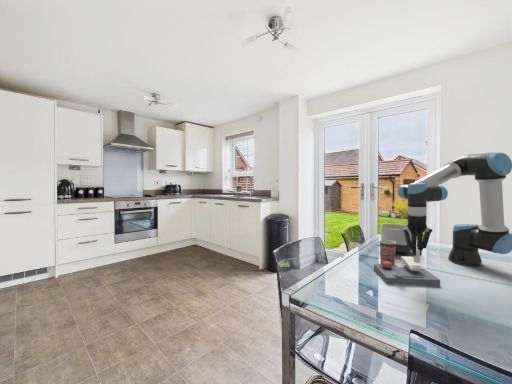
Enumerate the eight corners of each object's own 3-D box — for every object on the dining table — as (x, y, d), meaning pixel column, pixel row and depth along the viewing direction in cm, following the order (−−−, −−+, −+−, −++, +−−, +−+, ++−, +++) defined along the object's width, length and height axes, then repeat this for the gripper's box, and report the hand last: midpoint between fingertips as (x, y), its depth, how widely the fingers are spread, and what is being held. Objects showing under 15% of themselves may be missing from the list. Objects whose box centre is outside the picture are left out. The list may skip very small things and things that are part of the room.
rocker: (412, 259, 129) (412, 256, 129) (423, 271, 118) (424, 268, 118) (400, 258, 130) (400, 255, 130) (411, 270, 119) (411, 267, 119)
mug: (392, 267, 134) (393, 244, 134) (376, 263, 141) (376, 241, 141) (400, 262, 143) (401, 240, 142) (385, 258, 149) (385, 237, 149)
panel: (419, 270, 129) (420, 262, 129) (440, 286, 112) (440, 275, 111) (374, 269, 133) (374, 260, 133) (386, 283, 115) (386, 273, 115)
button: (389, 265, 129) (389, 261, 129) (392, 268, 125) (393, 264, 124) (381, 265, 130) (381, 260, 129) (384, 268, 125) (384, 263, 125)
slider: (400, 274, 117) (401, 264, 117) (403, 277, 114) (403, 267, 114) (395, 274, 118) (395, 264, 117) (398, 276, 115) (398, 267, 114)
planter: (419, 256, 152) (420, 229, 151) (390, 256, 153) (390, 230, 151) (401, 247, 172) (402, 223, 170) (375, 247, 172) (376, 223, 171)
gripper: (427, 213, 115) (426, 259, 117) (398, 213, 117) (398, 259, 119) (436, 216, 108) (435, 265, 110) (405, 216, 110) (405, 264, 112)
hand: (416, 261), depth 115 cm, fingers closed
